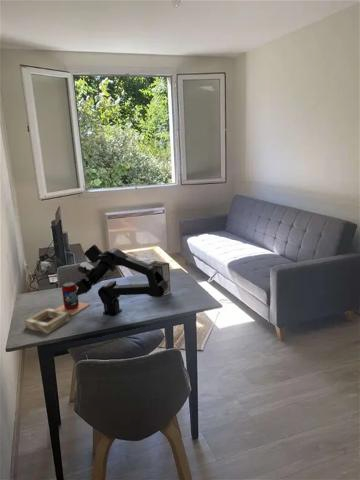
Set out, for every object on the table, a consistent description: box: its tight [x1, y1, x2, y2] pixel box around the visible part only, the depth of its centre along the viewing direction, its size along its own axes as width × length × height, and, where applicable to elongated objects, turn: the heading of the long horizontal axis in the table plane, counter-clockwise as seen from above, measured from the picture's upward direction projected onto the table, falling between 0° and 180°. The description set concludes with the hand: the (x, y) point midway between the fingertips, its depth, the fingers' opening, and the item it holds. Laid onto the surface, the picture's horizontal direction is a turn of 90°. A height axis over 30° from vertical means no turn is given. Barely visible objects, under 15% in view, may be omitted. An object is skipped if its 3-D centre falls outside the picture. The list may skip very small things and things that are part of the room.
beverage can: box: [61, 281, 80, 309], centre depth 170 cm, size 7×7×12 cm
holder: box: [24, 307, 71, 335], centre depth 158 cm, size 13×13×4 cm
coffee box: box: [147, 260, 171, 295], centre depth 184 cm, size 9×6×16 cm
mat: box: [54, 301, 91, 317], centre depth 172 cm, size 12×12×1 cm
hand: (81, 290), depth 168 cm, fingers open, 9 cm apart
